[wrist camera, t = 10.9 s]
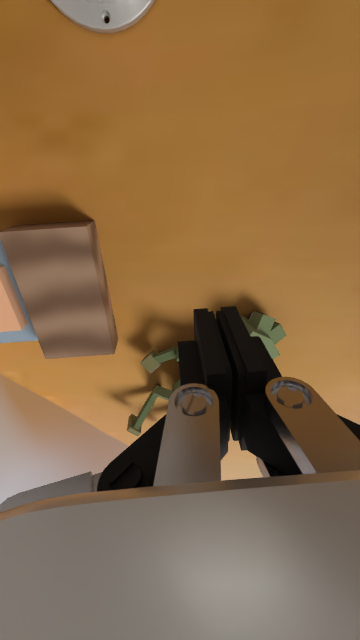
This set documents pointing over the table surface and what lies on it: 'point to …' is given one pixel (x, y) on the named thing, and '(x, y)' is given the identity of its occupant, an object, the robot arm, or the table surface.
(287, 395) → the robot arm
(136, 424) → the toy
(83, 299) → the plate
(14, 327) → the tan flat block
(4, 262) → the mat
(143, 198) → the table surface
